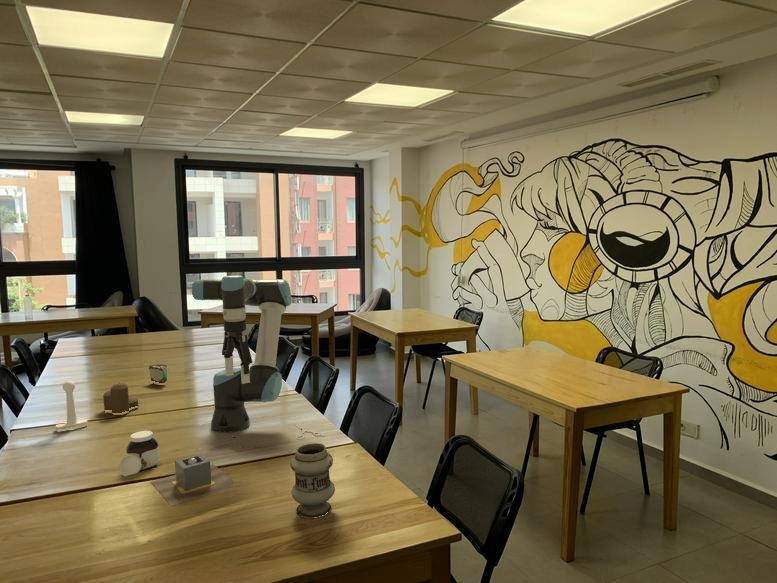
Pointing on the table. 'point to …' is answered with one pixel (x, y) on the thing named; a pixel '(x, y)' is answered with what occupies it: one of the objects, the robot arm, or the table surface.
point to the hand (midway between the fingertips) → (237, 379)
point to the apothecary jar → (312, 480)
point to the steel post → (192, 461)
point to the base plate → (178, 495)
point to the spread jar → (140, 454)
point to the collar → (193, 472)
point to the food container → (158, 372)
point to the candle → (118, 399)
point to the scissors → (308, 431)
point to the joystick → (70, 408)
